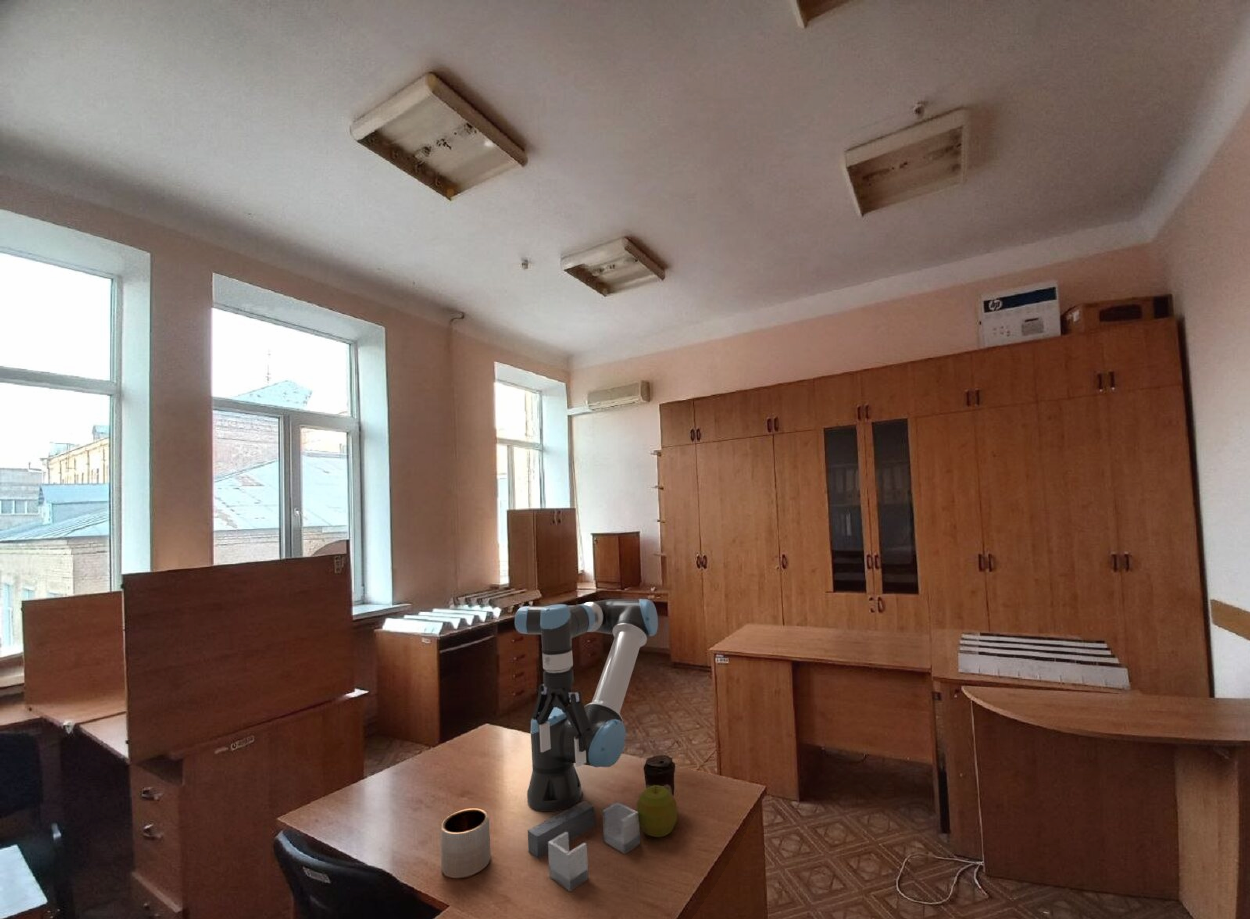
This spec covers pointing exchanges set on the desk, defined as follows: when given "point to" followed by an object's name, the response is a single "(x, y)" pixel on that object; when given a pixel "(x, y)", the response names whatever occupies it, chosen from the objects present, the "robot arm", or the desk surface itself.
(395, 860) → the desk surface
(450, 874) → the planter
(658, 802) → the apple
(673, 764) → the coffee cup
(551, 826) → the rail
